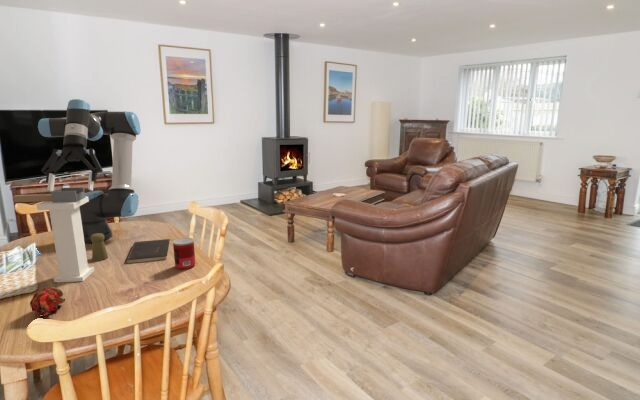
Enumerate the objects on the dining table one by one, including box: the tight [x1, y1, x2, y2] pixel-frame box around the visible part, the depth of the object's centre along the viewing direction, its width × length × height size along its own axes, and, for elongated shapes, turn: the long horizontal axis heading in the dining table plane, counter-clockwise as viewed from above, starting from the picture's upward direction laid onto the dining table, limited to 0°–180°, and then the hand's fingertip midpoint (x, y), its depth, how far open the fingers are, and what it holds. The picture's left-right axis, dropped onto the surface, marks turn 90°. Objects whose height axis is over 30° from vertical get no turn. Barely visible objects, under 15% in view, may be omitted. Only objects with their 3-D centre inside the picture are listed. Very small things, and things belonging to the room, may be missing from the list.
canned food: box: [172, 237, 196, 271], centre depth 159 cm, size 8×8×11 cm
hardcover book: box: [125, 238, 171, 264], centre depth 176 cm, size 16×23×2 cm
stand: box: [36, 196, 95, 283], centre depth 147 cm, size 12×12×30 cm
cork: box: [90, 233, 109, 262], centre depth 167 cm, size 6×6×11 cm
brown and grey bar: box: [12, 186, 86, 203], centre depth 142 cm, size 22×7×4 cm, turn 98°
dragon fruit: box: [29, 286, 66, 319], centre depth 123 cm, size 8×8×12 cm
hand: (70, 190), depth 144 cm, fingers open, 13 cm apart
